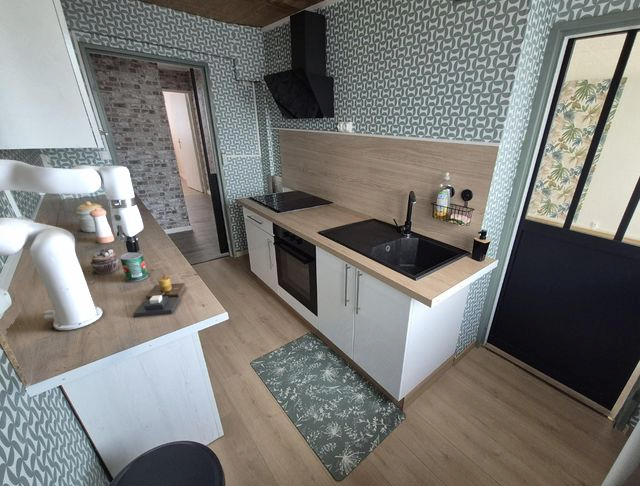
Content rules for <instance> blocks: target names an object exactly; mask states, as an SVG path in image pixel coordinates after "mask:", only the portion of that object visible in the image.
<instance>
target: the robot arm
mask: <svg viewBox="0 0 640 486" xmlns="http://www.w3.org/2000/svg"><path fill="white" fill-rule="evenodd" d="M101 187H102V188H103V191H104V194H105V199H106V201H107V206H108V209H109V210H110V217H111V219H110V220H111V224H112V229H113V232H114V235H115V237H118V238H119V241H120V242H124V244H125V247H126V250H127V253H131V252H140V251H141V250H140V244H139V241H138V240H139V238H138V234H139V233H140V232H142V231H143V230H144V223H143V219H142V216H141V213H140V210H139V208H138V205H137V201H136V197H135V192H134V187H133V183H132V179H131V173H130V170H129V169H128V168H127V167H126V166H124V165H105V166H102V165H101V166H99V165H89V164H79V165H75V166H73V167H71V168H60V167H59V168H58V167H47V166H38V165H33V164H29V163H27V162H23V161H19V160H15V159H3V158H2V159H1V158H0V191H18V192H19V191H21V192H26V193H27V192H28V193H40V194H51V195H88V194H89V195H90V194H93V193H96V192H97V191H98V190H100V188H101ZM22 249H23V250H29V257H30V260H31V262H32V264H33V265H34V267H35V269H36V271H37V272H38V273H37V274H39V277H40V279H41V281H42V284H43V287H44V288H45V291H46V293H47V296H48V298H49V300H50V303H51V306H52V308H53V309H48V310H45V311H44V314H43V315H44V316H43V318H44V320H52V319H53V322H52V326H53V328H54V329H55V330H56V331H57V330H58V331H71V330H76V329H80V328H84V327H86V326H88V325H91V324H93V323H94V322H96V321H97V320H99V319H100V318H101V317H102V315H103V309H102V308H101V307H99V306H95V304H94V301H93V298H92V296H91V292H90V289H89V286H88V284H87V281H86V278H85V275H84V272H83V269H82V266H81V264H80V261H79V259H78V257H77V254H76V239H75V236H74V235H73V233H72V232H70V231H69V230H67V229H65V228H62V227H59V226H54V225H50V224H45V223H41V222H35V221H31V220H27V219H22V218H17V217H0V257H6V256H7V257H8V256H12V255H15V254H17V253H18V252H20V251H21V250H22Z"/></svg>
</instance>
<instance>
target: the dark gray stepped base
mask: <svg viewBox="0 0 640 486" xmlns="http://www.w3.org/2000/svg"><path fill="white" fill-rule="evenodd" d="M150 299H151V297H150ZM150 299H149V300H150ZM149 300H147V299H144V300H143V301H142V302H141V303H140V304H139V306H138V307H137V309H136V310H135V311H134V312H133V316H134V318H142V317H151V316H162V315H171V314H173V313H174V311H175V309H176V308H177V306H178V305H179V303H180V301H181V300H180V299H179V297H174V298H168V296H162V301H161V302H160V303H154V304H150V301H149Z"/></svg>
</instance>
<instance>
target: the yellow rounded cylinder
mask: <svg viewBox="0 0 640 486" xmlns="http://www.w3.org/2000/svg"><path fill="white" fill-rule="evenodd" d="M157 281H158V285H159V286H160V290H161V291H162V292H167V291H170V290H171V289H172V285H171V284H172V281H171V277H170V276H169V275H163V276H161V277H159V278H158V279H157Z"/></svg>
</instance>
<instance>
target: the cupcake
mask: <svg viewBox="0 0 640 486" xmlns="http://www.w3.org/2000/svg"><path fill="white" fill-rule="evenodd" d="M118 262H119V259H118V255H117V253H116V252H114V249H112V248H100V249H98V250H96V252H95V253H94V255H93V256H92V258H91V261H90V265H91V267H92V268H93V270H94V272H95V273H96V274H99V275H104V274H109V273H113V272H115V271H116V270H118V267H119V265H118V264H119V263H118Z"/></svg>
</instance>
